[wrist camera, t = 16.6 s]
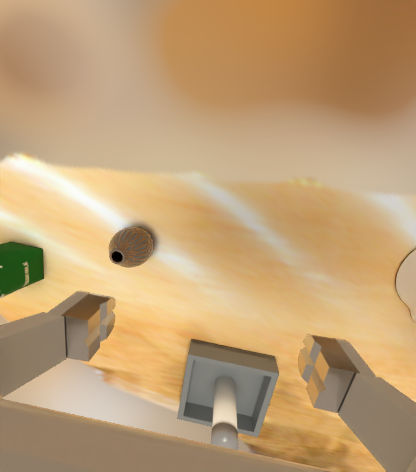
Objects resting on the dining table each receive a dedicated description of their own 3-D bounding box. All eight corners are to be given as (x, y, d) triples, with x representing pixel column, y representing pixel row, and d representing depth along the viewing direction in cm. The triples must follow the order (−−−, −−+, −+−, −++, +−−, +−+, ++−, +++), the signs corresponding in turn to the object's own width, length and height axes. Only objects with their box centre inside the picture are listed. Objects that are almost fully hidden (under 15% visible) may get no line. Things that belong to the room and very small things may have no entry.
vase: (165, 245, 39) (147, 263, 30) (138, 264, 40) (115, 285, 32) (142, 216, 38) (118, 226, 29) (116, 236, 39) (86, 251, 31)
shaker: (237, 377, 44) (240, 440, 33) (233, 393, 45) (235, 458, 34) (216, 373, 44) (213, 433, 33) (213, 389, 45) (208, 452, 35)
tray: (274, 356, 43) (279, 373, 39) (255, 416, 47) (257, 437, 44) (191, 339, 43) (188, 354, 40) (181, 399, 48) (177, 418, 44)
